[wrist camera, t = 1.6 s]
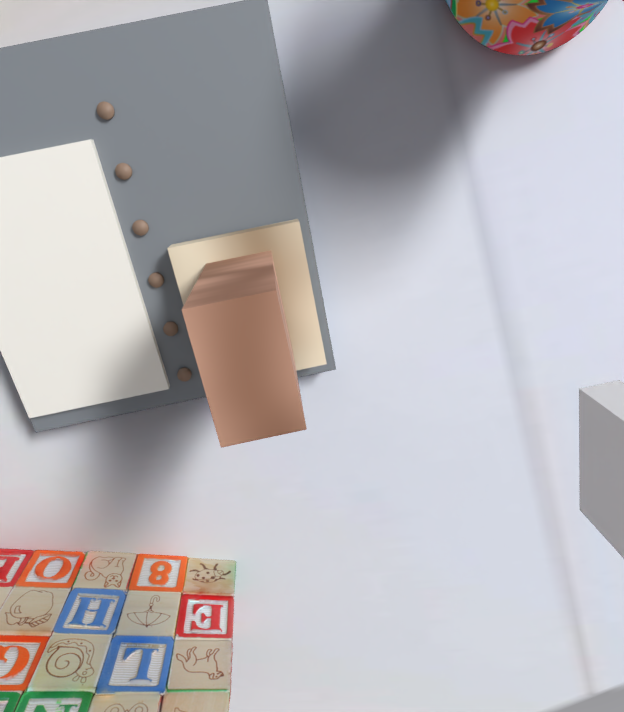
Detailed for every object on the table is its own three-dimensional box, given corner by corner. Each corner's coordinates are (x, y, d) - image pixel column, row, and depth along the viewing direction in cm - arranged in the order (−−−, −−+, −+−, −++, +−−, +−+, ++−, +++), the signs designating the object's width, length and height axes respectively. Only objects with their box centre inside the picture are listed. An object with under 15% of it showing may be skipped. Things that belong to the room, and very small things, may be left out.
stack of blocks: (-119, 620, 33) (-325, 869, 21) (-132, 536, 31) (-368, 763, 19) (229, 632, 36) (215, 857, 24) (239, 557, 33) (228, 764, 22)
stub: (209, 379, 27) (185, 480, 18) (171, 244, 25) (123, 288, 16) (323, 356, 27) (353, 445, 19) (297, 218, 25) (317, 248, 16)
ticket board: (46, 419, 29) (32, 436, 27) (-96, 76, 23) (-126, 69, 21) (332, 359, 29) (336, 372, 27) (266, 6, 23) (266, -7, 21)
